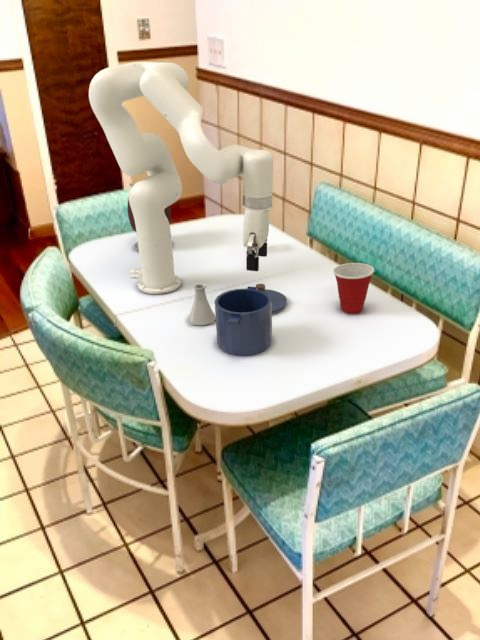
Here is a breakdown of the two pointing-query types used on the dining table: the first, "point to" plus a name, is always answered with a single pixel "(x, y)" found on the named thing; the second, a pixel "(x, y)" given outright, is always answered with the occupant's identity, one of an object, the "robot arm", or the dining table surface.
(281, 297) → the pot lid
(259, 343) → the pot
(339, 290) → the plastic cup
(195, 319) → the flask
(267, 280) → the dining table surface
